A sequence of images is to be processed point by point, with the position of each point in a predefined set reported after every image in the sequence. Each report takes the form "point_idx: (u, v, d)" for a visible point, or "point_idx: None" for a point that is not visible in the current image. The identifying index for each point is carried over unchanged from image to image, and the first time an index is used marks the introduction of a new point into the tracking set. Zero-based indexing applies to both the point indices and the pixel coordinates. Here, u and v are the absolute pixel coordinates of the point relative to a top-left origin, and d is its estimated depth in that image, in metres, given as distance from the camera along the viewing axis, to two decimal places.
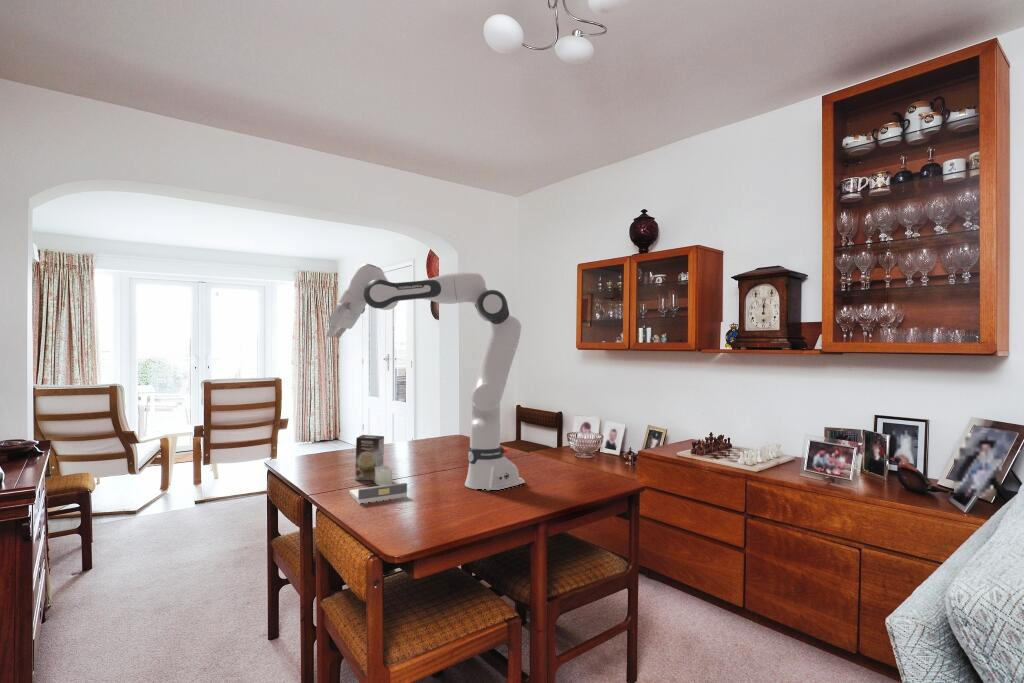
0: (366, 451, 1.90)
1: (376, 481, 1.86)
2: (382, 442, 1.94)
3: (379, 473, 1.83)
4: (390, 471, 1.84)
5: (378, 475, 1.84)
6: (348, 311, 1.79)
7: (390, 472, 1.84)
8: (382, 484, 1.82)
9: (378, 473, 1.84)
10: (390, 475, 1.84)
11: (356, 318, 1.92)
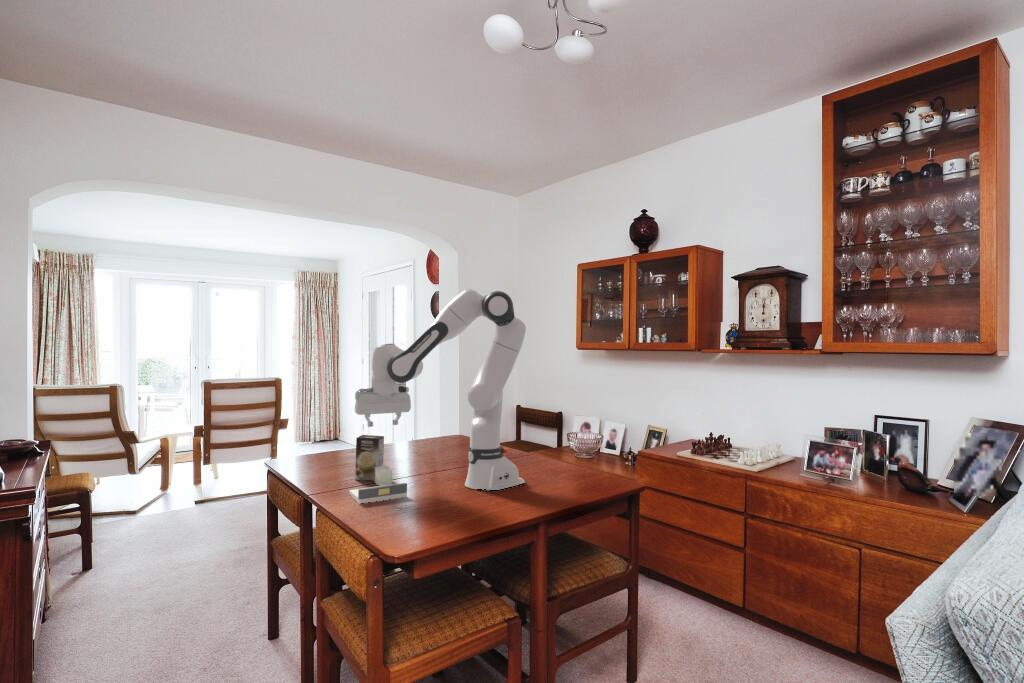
0: (366, 451, 1.90)
1: (376, 481, 1.86)
2: (382, 442, 1.94)
3: (379, 473, 1.83)
4: (390, 471, 1.84)
5: (378, 475, 1.84)
6: (369, 396, 1.81)
7: (390, 472, 1.84)
8: (382, 484, 1.82)
9: (378, 473, 1.84)
10: (390, 475, 1.84)
11: (406, 399, 1.89)
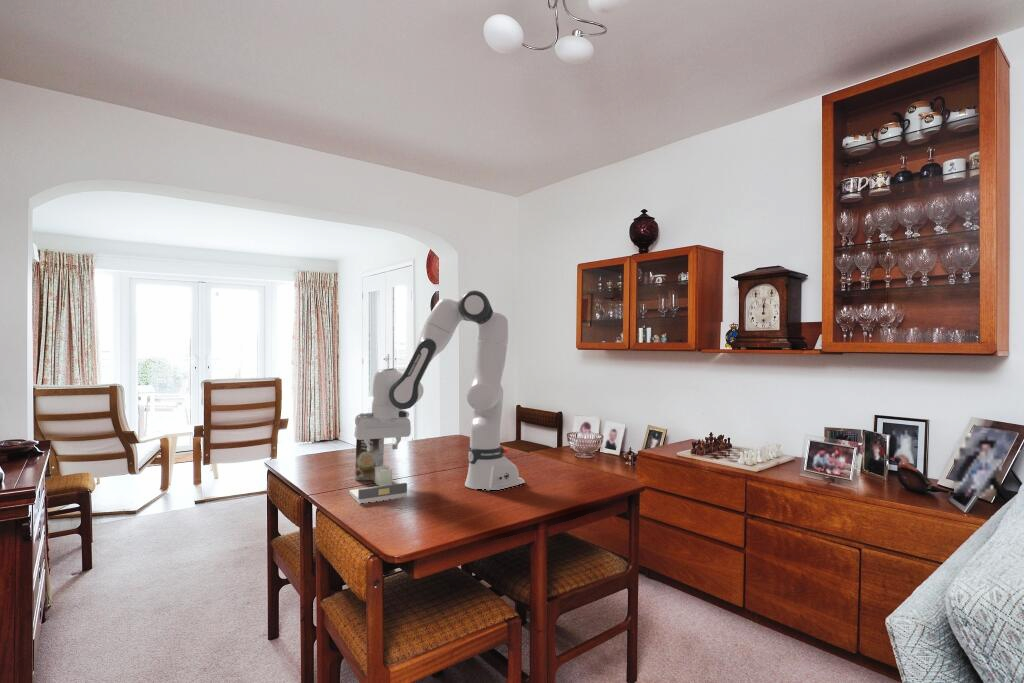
0: (366, 451, 1.90)
1: (376, 481, 1.86)
2: (382, 442, 1.94)
3: (379, 473, 1.83)
4: (390, 471, 1.84)
5: (378, 475, 1.84)
6: (369, 421, 1.81)
7: (390, 472, 1.84)
8: (382, 484, 1.82)
9: (378, 473, 1.84)
10: (390, 475, 1.84)
11: (406, 424, 1.88)
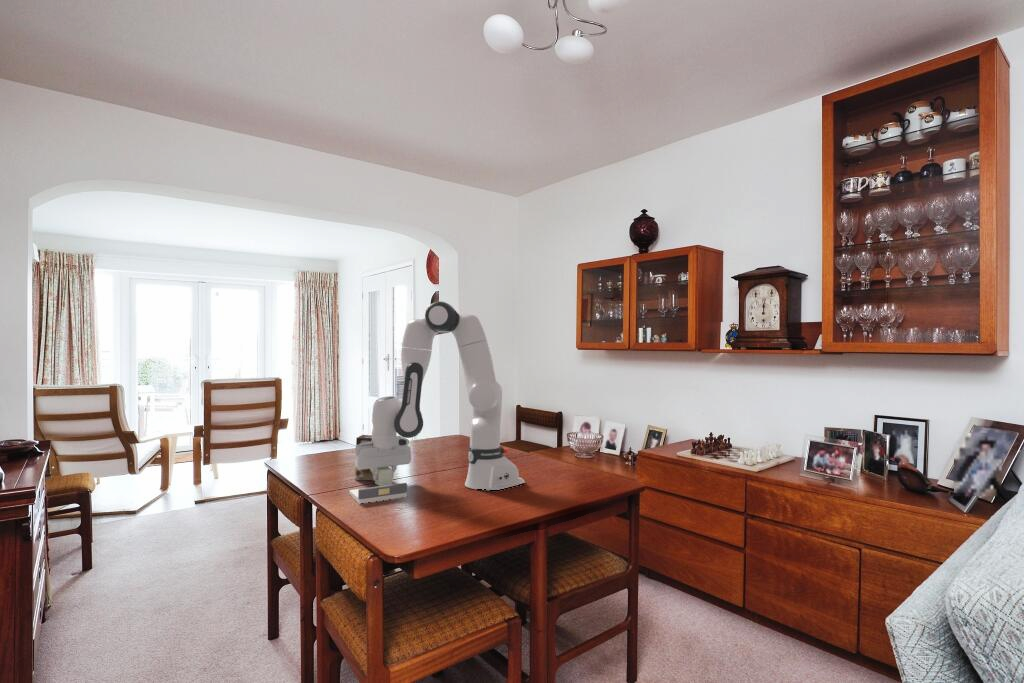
0: None
1: (376, 481, 1.86)
2: None
3: (379, 473, 1.83)
4: (390, 471, 1.84)
5: None
6: (369, 450, 1.81)
7: (390, 472, 1.84)
8: (382, 484, 1.82)
9: (378, 473, 1.84)
10: (390, 475, 1.84)
11: (406, 451, 1.88)
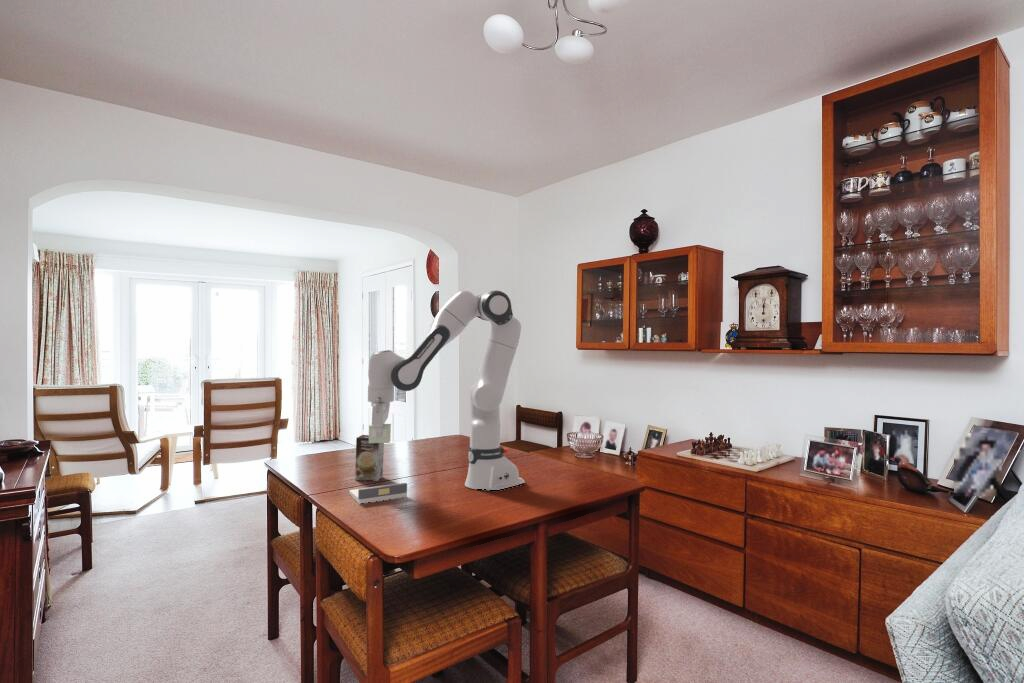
0: (366, 451, 1.90)
1: (374, 439, 1.76)
2: None
3: (384, 429, 1.76)
4: (390, 425, 1.80)
5: None
6: (384, 405, 1.73)
7: (390, 426, 1.80)
8: (389, 439, 1.77)
9: None
10: (390, 429, 1.80)
11: (388, 406, 1.86)
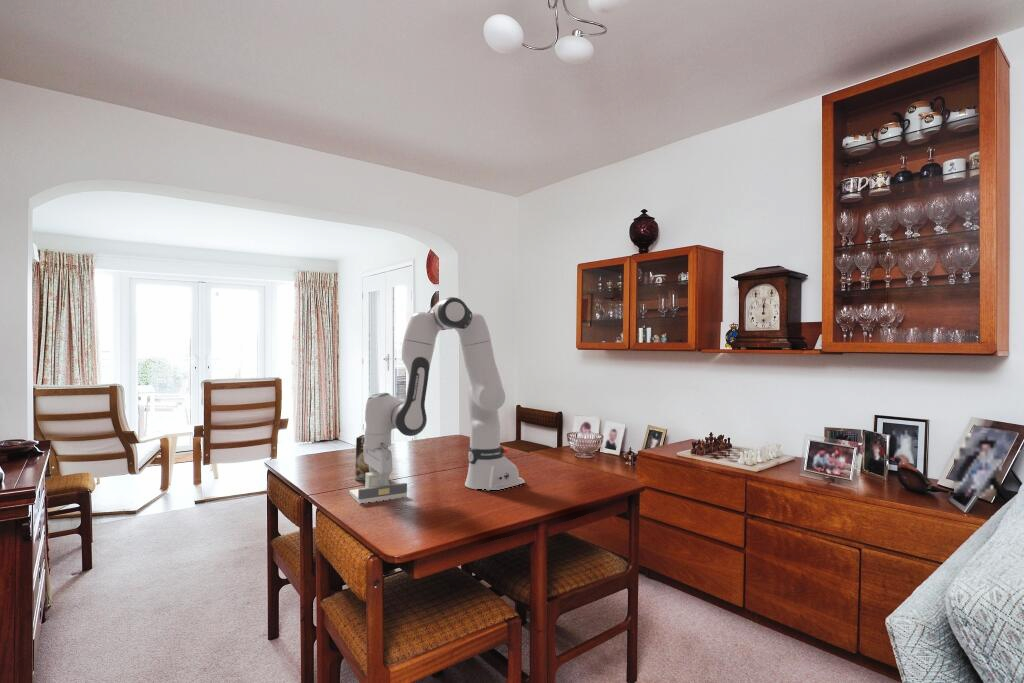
0: None
1: None
2: None
3: None
4: None
5: None
6: None
7: None
8: None
9: None
10: None
11: None
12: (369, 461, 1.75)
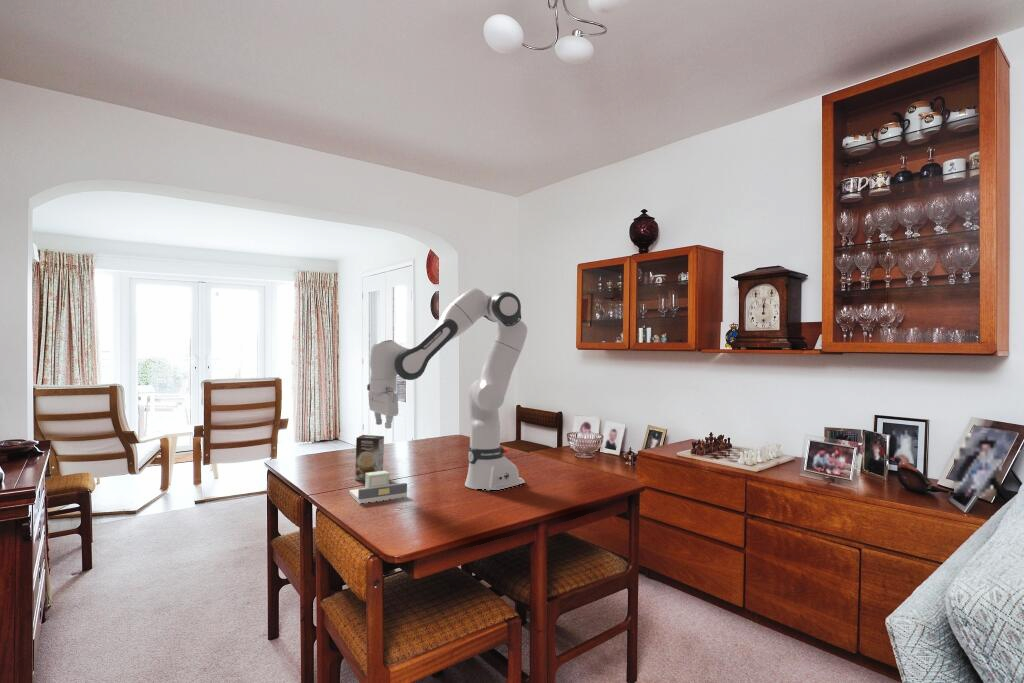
0: (366, 451, 1.90)
1: None
2: (382, 442, 1.94)
3: (383, 477, 1.72)
4: None
5: (381, 480, 1.72)
6: None
7: None
8: None
9: (380, 479, 1.71)
10: None
11: None
12: (375, 407, 1.79)
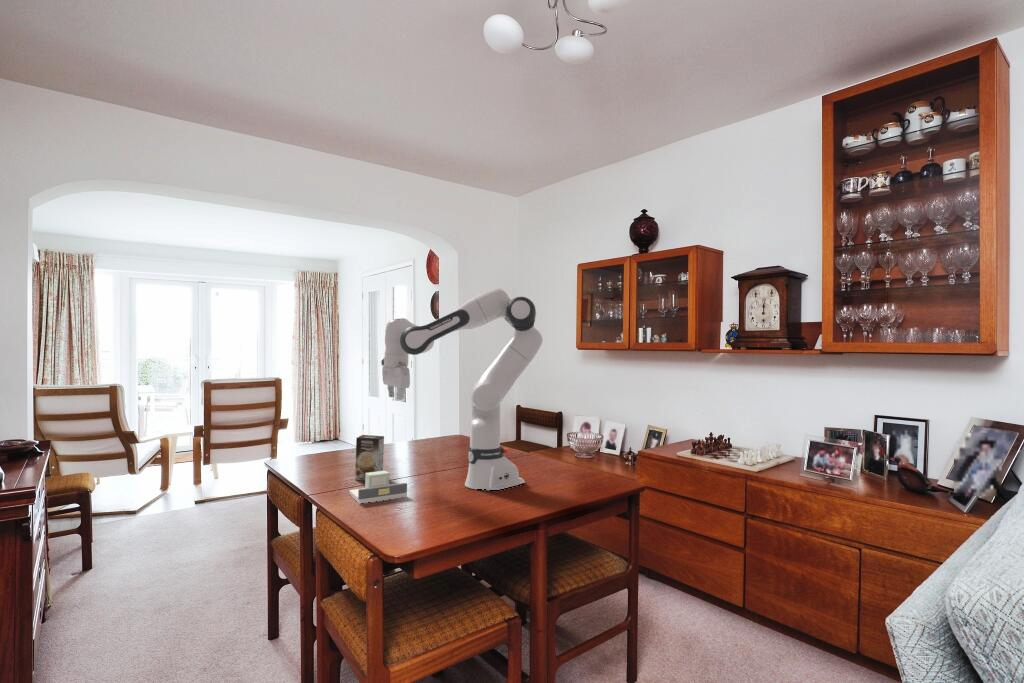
0: (366, 451, 1.90)
1: None
2: (382, 442, 1.94)
3: (383, 477, 1.72)
4: None
5: (381, 480, 1.72)
6: None
7: None
8: None
9: (380, 479, 1.71)
10: None
11: None
12: (388, 380, 1.93)
